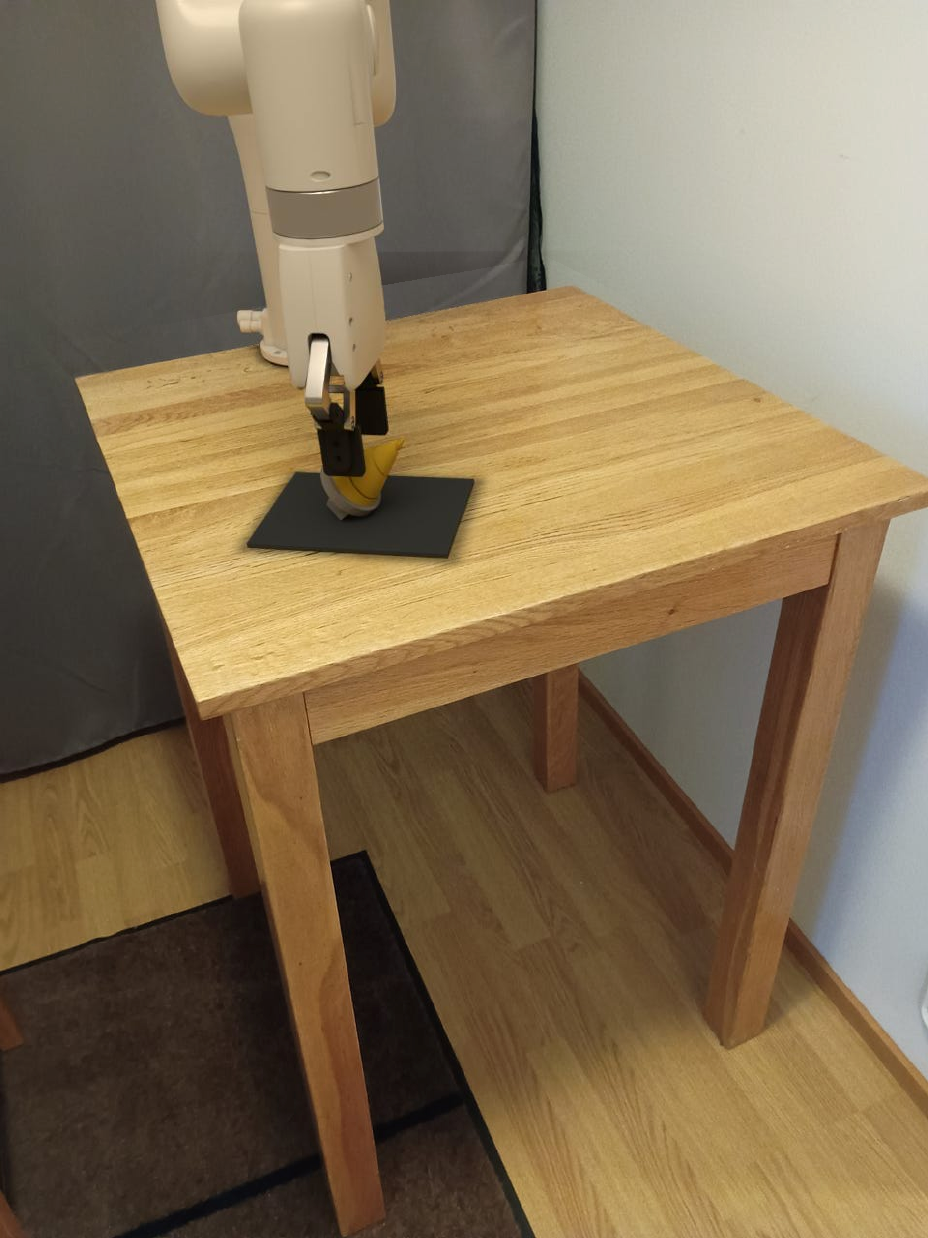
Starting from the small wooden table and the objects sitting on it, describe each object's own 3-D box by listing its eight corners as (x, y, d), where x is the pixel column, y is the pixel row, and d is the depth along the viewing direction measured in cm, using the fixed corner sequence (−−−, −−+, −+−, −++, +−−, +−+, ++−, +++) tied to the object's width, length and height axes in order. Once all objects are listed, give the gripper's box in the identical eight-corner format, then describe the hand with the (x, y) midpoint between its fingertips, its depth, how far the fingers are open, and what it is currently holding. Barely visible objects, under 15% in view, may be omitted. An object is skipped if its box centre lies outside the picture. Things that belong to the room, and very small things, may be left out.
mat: (247, 547, 72) (246, 543, 72) (296, 475, 82) (295, 471, 82) (447, 558, 70) (447, 553, 69) (474, 482, 79) (474, 478, 79)
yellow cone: (347, 487, 79) (424, 421, 73) (356, 540, 77) (436, 477, 71) (295, 469, 75) (371, 398, 69) (303, 524, 73) (383, 456, 67)
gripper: (311, 182, 69) (342, 406, 80) (224, 245, 56) (275, 506, 66) (409, 180, 68) (427, 409, 79) (343, 245, 55) (376, 510, 65)
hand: (357, 451), depth 73 cm, fingers open, 6 cm apart
